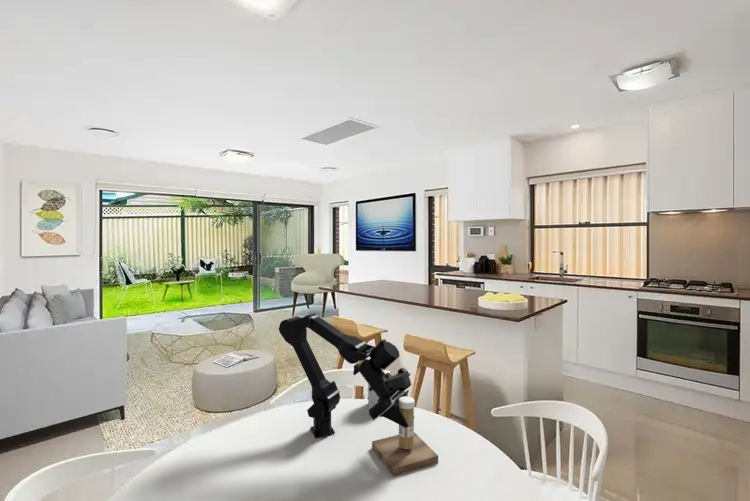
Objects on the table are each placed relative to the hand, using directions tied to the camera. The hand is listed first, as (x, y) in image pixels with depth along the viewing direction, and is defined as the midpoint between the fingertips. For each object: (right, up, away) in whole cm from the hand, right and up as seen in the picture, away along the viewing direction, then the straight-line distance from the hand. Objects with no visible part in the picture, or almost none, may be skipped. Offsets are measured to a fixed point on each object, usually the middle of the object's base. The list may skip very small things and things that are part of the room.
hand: (410, 423), depth 102 cm
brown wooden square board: (-2, -10, +1) cm, 10 cm away
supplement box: (-8, -9, +31) cm, 33 cm away
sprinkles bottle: (-1, -7, +1) cm, 7 cm away
